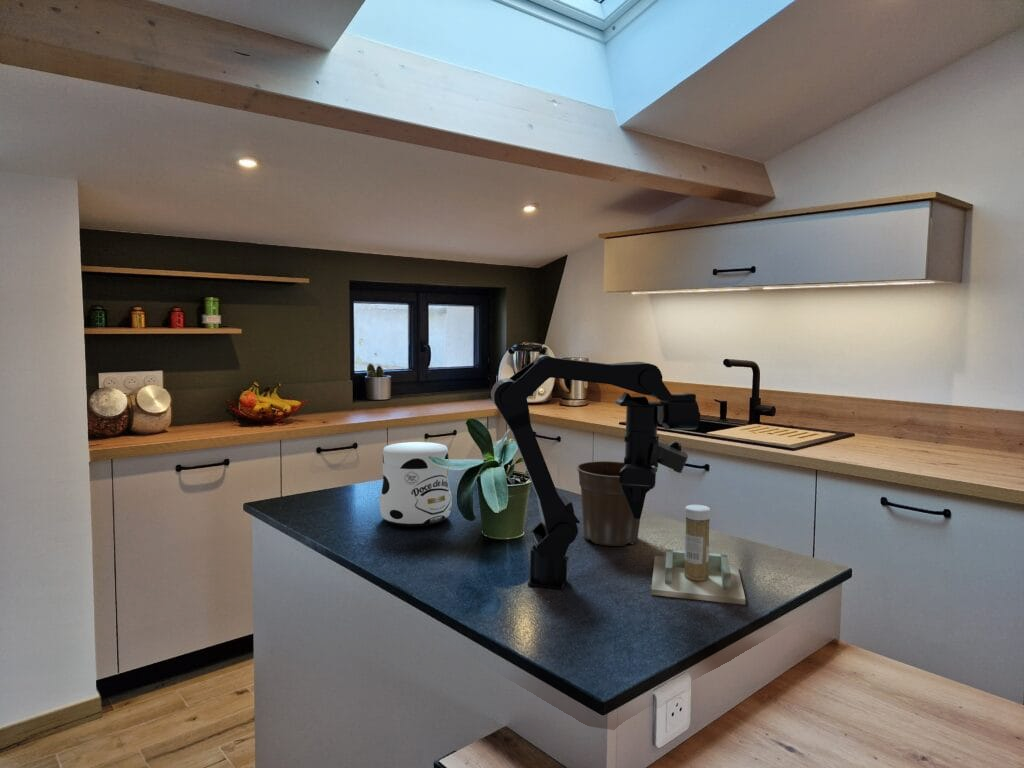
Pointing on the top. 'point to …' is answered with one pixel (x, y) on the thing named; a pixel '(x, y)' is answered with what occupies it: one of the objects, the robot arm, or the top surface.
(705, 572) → the sprinkles bottle
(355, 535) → the top surface
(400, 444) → the doce de leite jar
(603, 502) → the plant pot
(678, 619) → the top surface
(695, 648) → the top surface
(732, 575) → the u rest
